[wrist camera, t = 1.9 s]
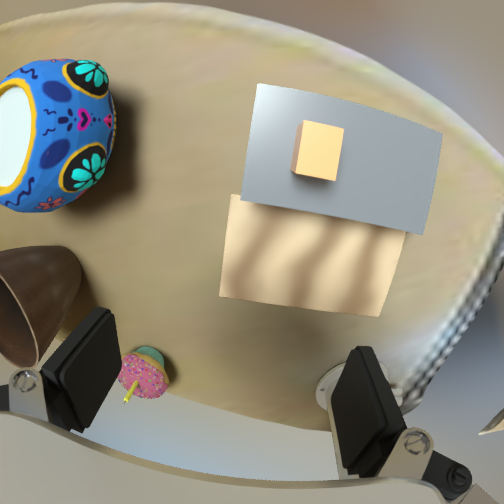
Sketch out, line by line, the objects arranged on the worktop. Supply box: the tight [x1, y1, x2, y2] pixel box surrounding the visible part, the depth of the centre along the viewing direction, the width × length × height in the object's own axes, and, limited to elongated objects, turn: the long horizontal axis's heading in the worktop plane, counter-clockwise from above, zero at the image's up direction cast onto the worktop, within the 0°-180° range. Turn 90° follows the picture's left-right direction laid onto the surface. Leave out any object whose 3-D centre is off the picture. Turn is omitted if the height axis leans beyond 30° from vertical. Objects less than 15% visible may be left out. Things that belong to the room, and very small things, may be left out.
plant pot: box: [0, 246, 82, 368], centre depth 29 cm, size 15×15×16 cm
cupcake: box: [118, 346, 170, 404], centre depth 36 cm, size 9×8×12 cm
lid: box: [240, 84, 442, 235], centre depth 22 cm, size 19×11×7 cm, turn 82°
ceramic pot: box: [0, 59, 117, 213], centre depth 23 cm, size 18×18×15 cm
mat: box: [219, 194, 406, 317], centre depth 34 cm, size 22×13×1 cm, turn 82°
